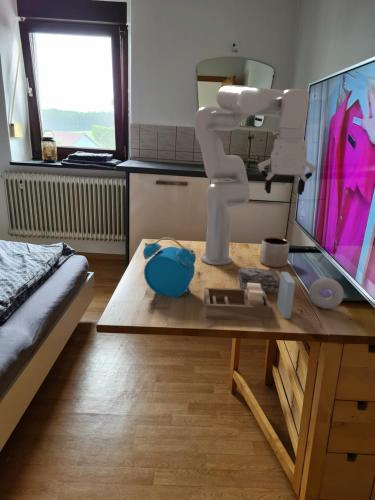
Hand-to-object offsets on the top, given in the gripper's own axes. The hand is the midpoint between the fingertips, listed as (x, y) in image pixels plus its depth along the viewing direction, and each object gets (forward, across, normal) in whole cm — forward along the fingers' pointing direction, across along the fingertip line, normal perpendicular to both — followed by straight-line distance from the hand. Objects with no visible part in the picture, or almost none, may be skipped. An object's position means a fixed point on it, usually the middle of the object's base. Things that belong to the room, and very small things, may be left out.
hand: (283, 193), depth 116 cm
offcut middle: (+30, -9, -15) cm, 35 cm away
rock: (+34, -4, 0) cm, 34 cm away
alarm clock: (+34, -34, -5) cm, 48 cm away
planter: (+34, +7, +29) cm, 45 cm away
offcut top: (+28, -9, -15) cm, 33 cm away
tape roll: (+34, +14, -10) cm, 38 cm away
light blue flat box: (+33, 0, -15) cm, 37 cm away
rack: (+33, -14, -15) cm, 39 cm away
